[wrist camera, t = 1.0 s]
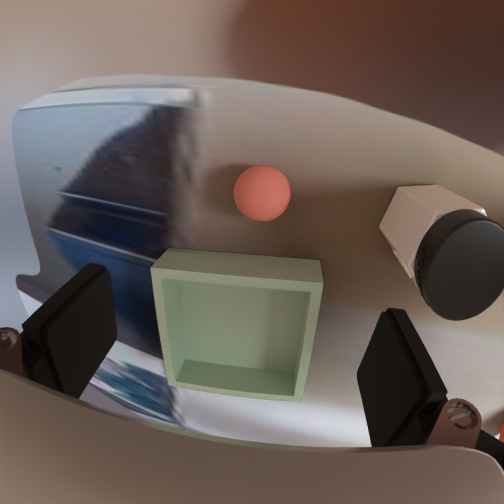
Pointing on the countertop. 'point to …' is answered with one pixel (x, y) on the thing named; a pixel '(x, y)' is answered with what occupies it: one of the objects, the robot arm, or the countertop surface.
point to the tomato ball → (262, 193)
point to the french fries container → (502, 433)
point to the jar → (446, 249)
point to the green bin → (237, 321)
